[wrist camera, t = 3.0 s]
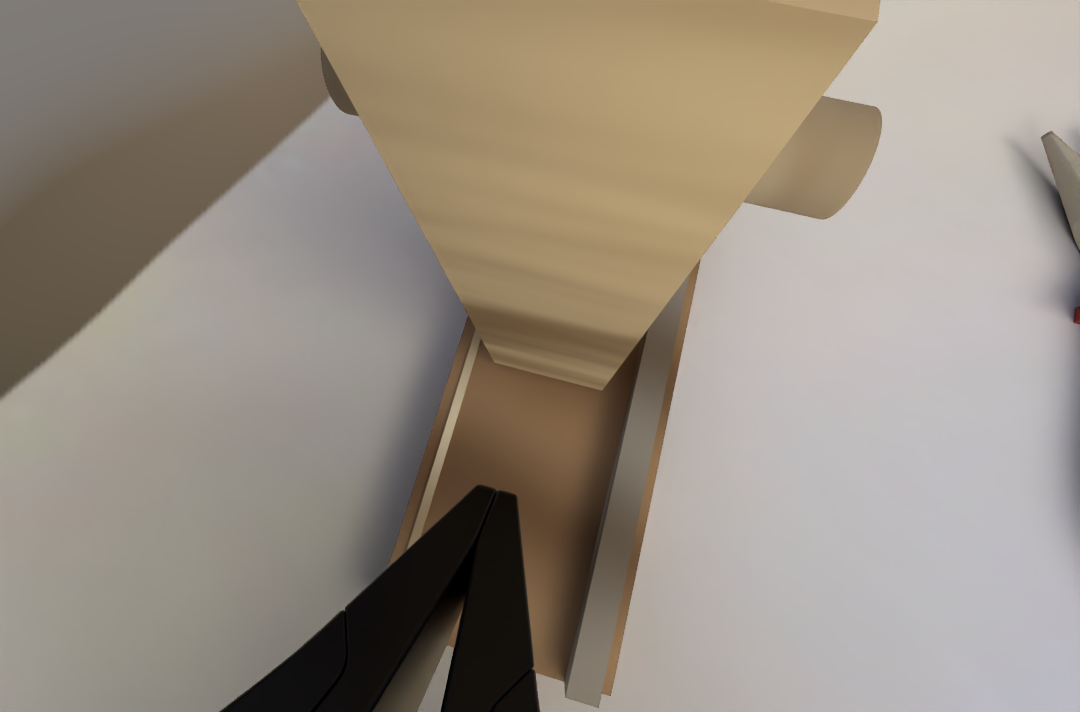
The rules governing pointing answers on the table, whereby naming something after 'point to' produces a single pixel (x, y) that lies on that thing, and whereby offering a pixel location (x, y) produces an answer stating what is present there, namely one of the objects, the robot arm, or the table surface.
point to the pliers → (1066, 183)
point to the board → (560, 485)
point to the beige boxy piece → (595, 146)
